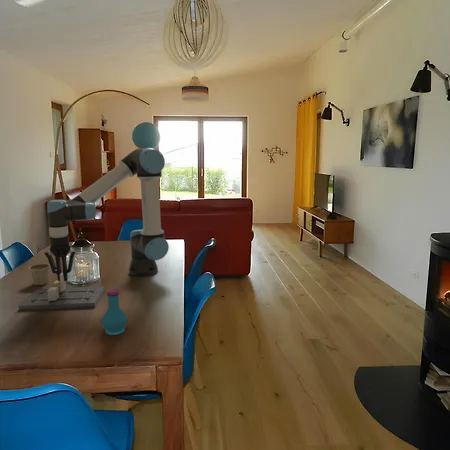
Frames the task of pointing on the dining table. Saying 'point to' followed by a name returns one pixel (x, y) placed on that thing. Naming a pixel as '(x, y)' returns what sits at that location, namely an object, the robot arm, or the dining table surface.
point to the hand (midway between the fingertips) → (63, 287)
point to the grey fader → (53, 294)
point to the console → (63, 299)
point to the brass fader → (57, 284)
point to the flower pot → (40, 273)
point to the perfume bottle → (114, 315)
